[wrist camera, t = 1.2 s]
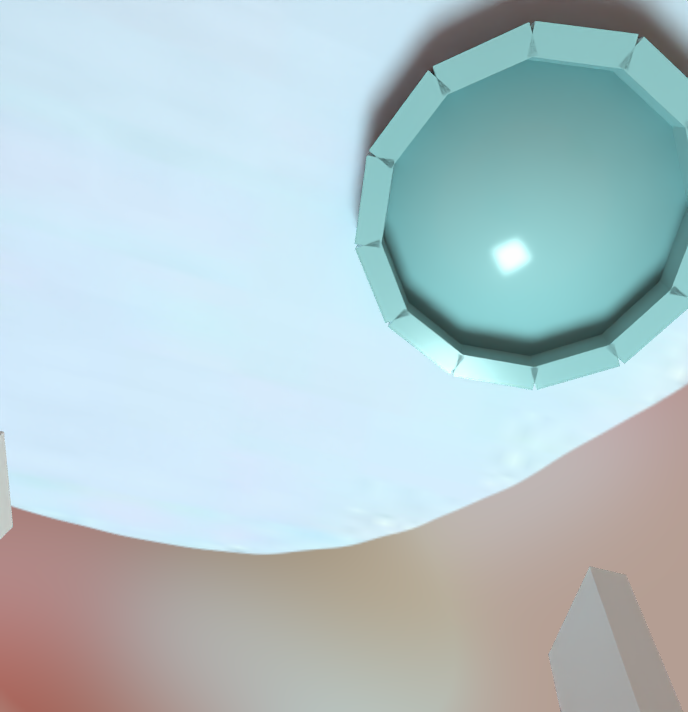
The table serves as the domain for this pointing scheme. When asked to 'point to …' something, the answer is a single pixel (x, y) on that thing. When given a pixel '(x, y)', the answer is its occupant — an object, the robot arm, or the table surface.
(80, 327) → the table surface
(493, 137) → the dish
